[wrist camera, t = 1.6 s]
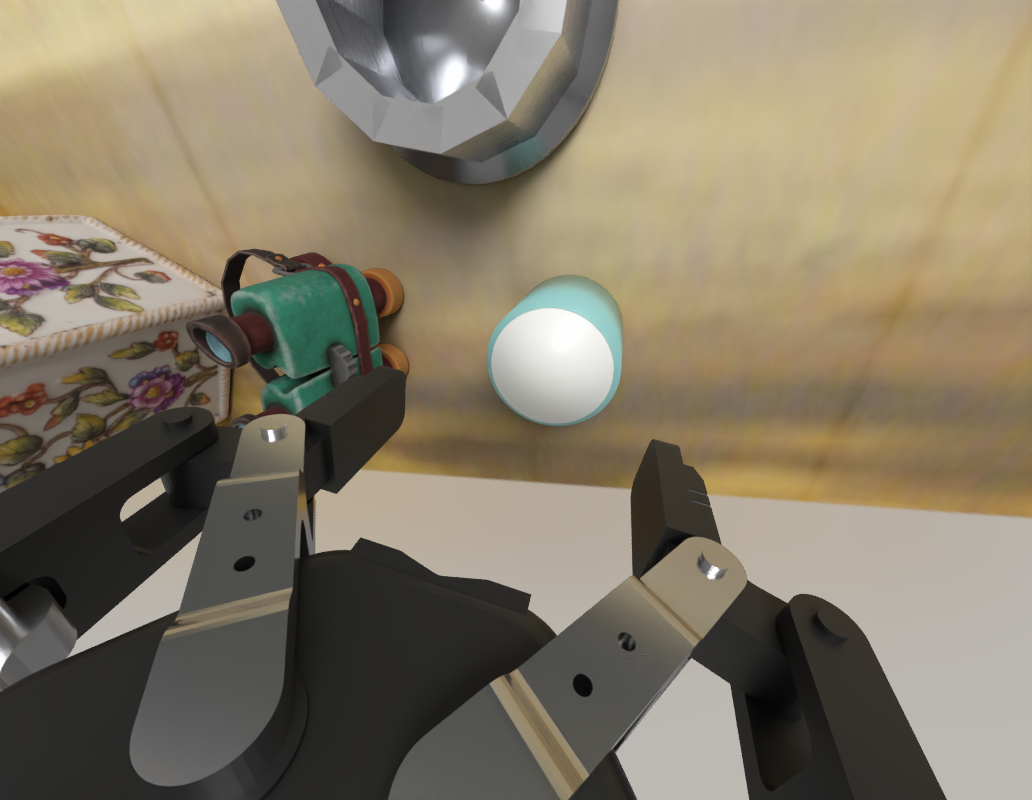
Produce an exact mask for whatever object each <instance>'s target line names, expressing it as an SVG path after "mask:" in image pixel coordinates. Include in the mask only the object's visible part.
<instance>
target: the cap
mask: <svg viewBox="0 0 1032 800" xmlns="http://www.w3.org/2000/svg"><path fill="white" fill-rule="evenodd" d="M622 340H623V321H622V315H621V312H620V309H619V307H618V304H617V302H616V301H615V299H614V298H613V296H612V295H611V294H610V293H609V292H608V291H607V290H606V289H605V288H604V287H603V286H602V285H600V284H598V283H597V282H595V281H593V280H591V279H589V278H585V277H582V276H576V275H563V276H557V277H553V278H550V279H548V280H546V281H544V282H542V283H540V284H539V285H538V286H536V287H535V288H534V289H533V290H532V291H531V292H530V293H529V294H528V295H527V296H526V297H525V298H524V299H523V300H522V301H521V302H520V303H519V304H518V305H517V306H516V307H515V308H514V309H513V310H512V311H511V312H510V313H509V314H508V315H507V316H506V317H505V318H504V319H503V320H502V321H501V322H500V323H499V324H498V326H497V327H496V329H495V330H494V332H493V334H492V336H491V339H490V342H489V345H488V350H487V368H488V373H489V377H490V380H491V382H492V385H493V387H494V389H495V390H496V392H497V394H498V395H499V397H500V398H501V399H502V400H503V402H504V403H505V404H506V405H507V406H508V407H509V408H511V409H512V410H513V411H514V412H516V413H517V414H519V415H521V416H522V417H524V418H526V419H528V420H530V421H533V422H536V423H539V424H544V425H550V426H566V425H572V424H576V423H580V422H582V421H585V420H587V419H589V418H591V417H593V416H594V415H596V414H597V413H599V412H600V411H601V410H602V409H603V408H604V407H605V406H606V405H607V404H608V403H609V402H610V400H611V399H612V397H613V395H614V394H615V392H616V389H617V387H618V384H619V381H620V376H621V364H622Z"/></svg>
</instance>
